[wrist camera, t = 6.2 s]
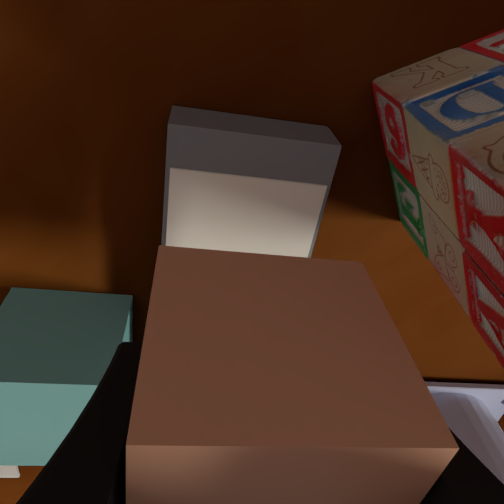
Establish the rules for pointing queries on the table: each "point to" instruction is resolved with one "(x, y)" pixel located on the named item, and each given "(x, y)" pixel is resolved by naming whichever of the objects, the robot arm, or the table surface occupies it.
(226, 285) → the salmon orange cube
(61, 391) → the teal cube
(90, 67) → the table surface
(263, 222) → the base plate
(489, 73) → the stack of blocks
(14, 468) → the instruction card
